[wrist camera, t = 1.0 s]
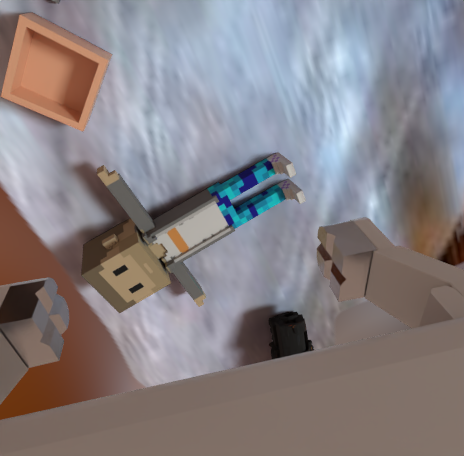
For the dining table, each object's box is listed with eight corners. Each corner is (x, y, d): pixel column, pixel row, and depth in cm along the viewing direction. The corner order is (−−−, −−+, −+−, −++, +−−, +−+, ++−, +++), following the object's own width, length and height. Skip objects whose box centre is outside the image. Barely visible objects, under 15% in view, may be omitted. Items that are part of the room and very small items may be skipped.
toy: (323, 249, 54) (154, 349, 53) (300, 225, 61) (148, 314, 60) (265, 88, 39) (27, 224, 38) (241, 79, 45) (37, 195, 44)
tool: (290, 285, 74) (317, 317, 59) (304, 379, 79) (332, 430, 64) (252, 294, 73) (270, 328, 58) (269, 388, 78) (290, 442, 63)
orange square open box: (32, 12, 35) (19, 14, 32) (112, 54, 38) (108, 60, 35) (13, 87, 38) (0, 96, 35) (88, 120, 41) (83, 131, 38)
